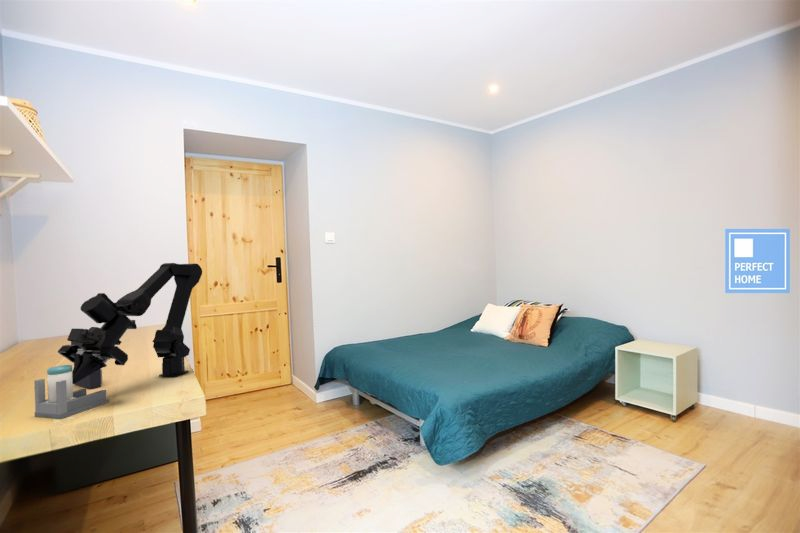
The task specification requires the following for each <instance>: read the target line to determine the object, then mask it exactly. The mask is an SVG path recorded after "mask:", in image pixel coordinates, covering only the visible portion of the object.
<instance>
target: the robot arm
mask: <svg viewBox="0 0 800 533" xmlns="http://www.w3.org/2000/svg"><path fill="white" fill-rule="evenodd" d="M202 275H203V268H202V267H201V266H200V265H199V263H177V262H176V263H175V262H165V263H162V264H160V266H159V268H158V269H157V270H156V271H155V272H154V273H153V274H152V275H151V276H149V278H148V279H147V280H145V281H144V282H143V283H142V284H141V285H140V286H139V287H138V288H137V289H135V290H133V291H130V292H129V293H126V294H125V295H123V296H122V297H120V298H119V299H118V300H117V301H116V302H113V301H112V299H111V298H109V297H108V295H107V294H106V293H105V292H101V293H99V292H98V293H97V295H94V296H92V297H91V298H89V299H87V300H85V301H84V302H82V304H81V306H80V311H81V312H82V313H84V314H85V315H86V316H87V317H88V318H90V319H91V320H93V321H94V323H96V324H102V325H101V327H97V326H90V328H88V329H87V328H71V329H70V332H69V334H68V336H67V339H66V340H67V341H69V342H71V341H75V342H79V343H81V344H80V346H82V347H84V348H85V349H81V348H80V347H79V346H77V345H71V344H65V345H62V346H61V347H60V348H59V349H58V351H57V353H58V354H59V355H60V356H62V357H63V358H65V359H67V360H68V361H69V362H71V363H73V367H72V379H73V385H75V383H77V382H78V381H80V380H82V379H83V378H85V377H87V376H88V375H90V374H92V373H94V372H95V371H97V370H99V369H103V368H106V367H107V366H108V365H107V364H106V363H107V362H108V361H110V360H111V359H114V364H115V365H116V366H125V365H126V363H127V362H128V361H129V354H127V353H126V352H125V351H123V350H122V349H121V348H120V347H119V345H121V343H122V341H121V338H122V337H123V336H124V334H125V333H126V332H127V330H137V323H136V320H135V319H130V318H129V317H142V316H143V315H144V314H145V313H146V312H147V310H148V308H149V307H150V306H151V303H152V299H153V298H154V297H155V296H156V295H157V293H158V292H159V291H161V289H162V288H163V287H164V286H165V285H166V284H167V283H168V282H169V281H170V280H172V278H173V280H174V282H175V291H174V294H173V297H172V302H171V304H170V308H169V311H168V315H167V318H166V321H165V325H164V327H163V328H162V329H156V331H155V334H154V339H153V340H152V343H153V345H152V347H153V349H154V351H155V353H156V356H157V358H162V363H161V370H162V371H161V374H158V377H163V378H164V377H165V378H167V377H169V378H176V377H179V376H181V374H182V375H185V374H187V373H189V372H190V371H189V370H186V369H185V358H187V356H189V355H190V350H191V349H190V347H188V346H187V345H186V344H185V343H184V339H185V336H184V332H183V330H182V329H183V328H182V327H183V324H184V320H185V317H186V312H187V308H188V305H189V302H190V297H191V294H192V290H193V289H194V287H195V286H196V285H198V284H199V283H200V280H201V277H202ZM74 363H75V365H74ZM186 372H187V373H186ZM178 375H179V376H178Z"/></svg>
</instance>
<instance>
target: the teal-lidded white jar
mask: <svg viewBox="0 0 800 533" xmlns="http://www.w3.org/2000/svg"><path fill="white" fill-rule="evenodd" d="M72 371H73V365H72V364H66V365H65V364H64V365H57V366H52V367H48V368H47V369H46V376H47V377H46V379H47V399H48V401H46V402H48V403H57V399H56V382H57V381H61V380H66V389H67V401H69V400H72V399H75V398H74V397H73V391H74V389H73V387H74V384H73V379H72Z"/></svg>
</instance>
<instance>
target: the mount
mask: <svg viewBox="0 0 800 533" xmlns="http://www.w3.org/2000/svg"><path fill="white" fill-rule="evenodd" d="M45 379H46V378H39V379H35V380H34V383H33V384H34V406H35V407H34V410H35V412H34V417H38V418H48V419H58V420H60V419H61V420H63V419H66V418H68V417H71V416H74V415H76V414H79V413H82V412H85V411H88V410H90V409H93V408H96V407H99V406H102V405H105V404H107V403H110V398H109V397H107V390H106V389H101V390H98V391H95V392H91V393H89V394H87V388H80V389H77V390H73V397H74V398H75V399H72V400H69V401H67V389H66V380H61V381H57V382H56V399H57V403H48V402H46V401H48V398H46V380H45Z"/></svg>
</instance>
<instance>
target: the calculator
mask: <svg viewBox="0 0 800 533" xmlns="http://www.w3.org/2000/svg"><path fill="white" fill-rule="evenodd" d="M80 344H81V343H79V342H75V341H70V345H77V346H79V347H80V348H81V349H85V348H84V347H82V346H80ZM74 365H75V363H73V366H74ZM74 385H75V386H78V387H81V388H83V389H88V390H93V389H97V388H100V387H101V386H102V385H103V368H101V369H99V370H97V371H95V372H94V373H92V374H90V375H88V376H87V377H85V378H83V379H82V380H80V381H78V382H77V383H75V384H74Z"/></svg>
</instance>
